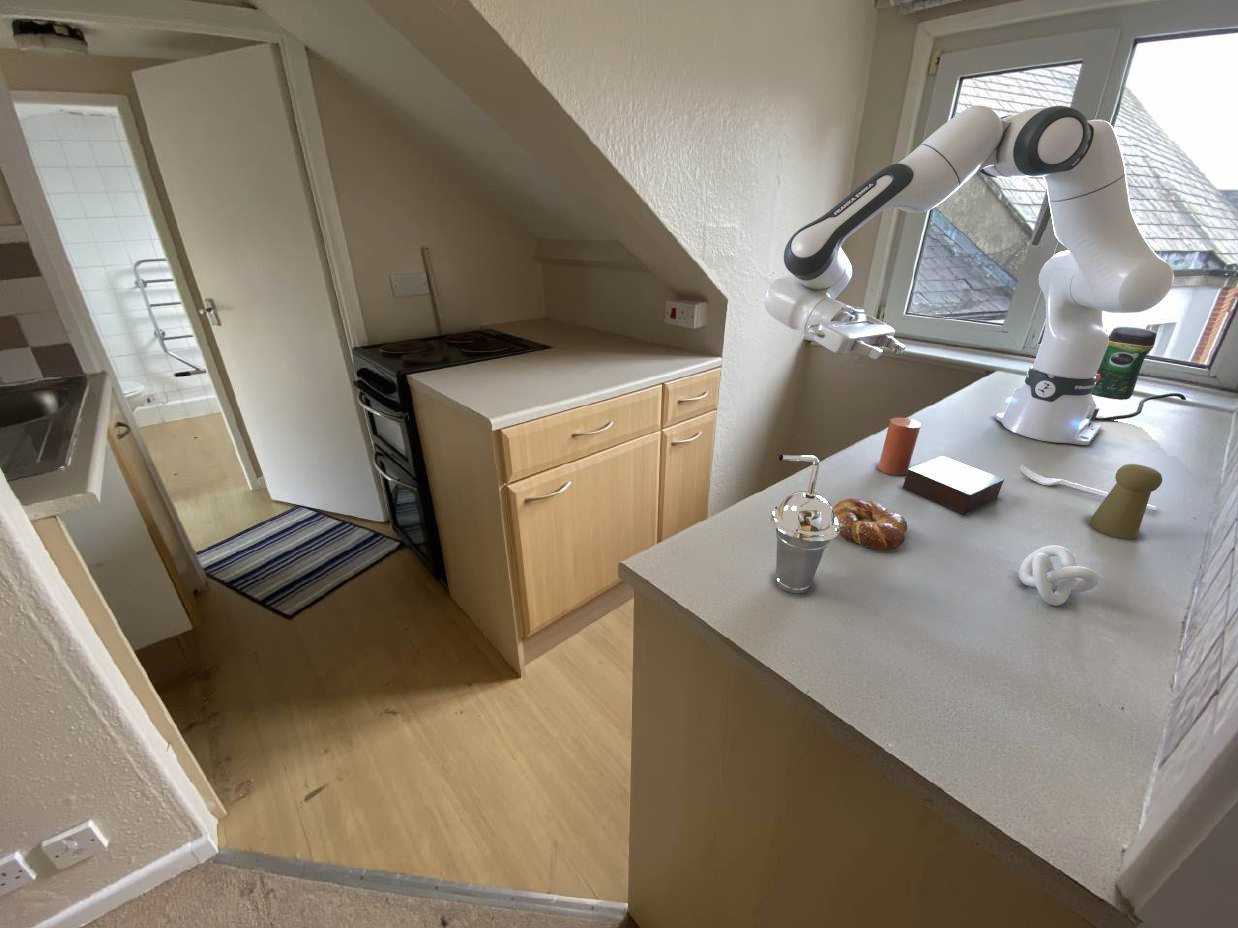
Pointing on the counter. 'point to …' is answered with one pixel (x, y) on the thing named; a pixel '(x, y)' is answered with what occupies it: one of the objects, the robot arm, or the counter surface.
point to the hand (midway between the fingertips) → (891, 353)
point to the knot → (1055, 574)
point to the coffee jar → (1123, 362)
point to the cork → (1126, 501)
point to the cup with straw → (802, 532)
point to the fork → (1065, 483)
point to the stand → (953, 484)
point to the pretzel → (869, 524)
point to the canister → (899, 446)
